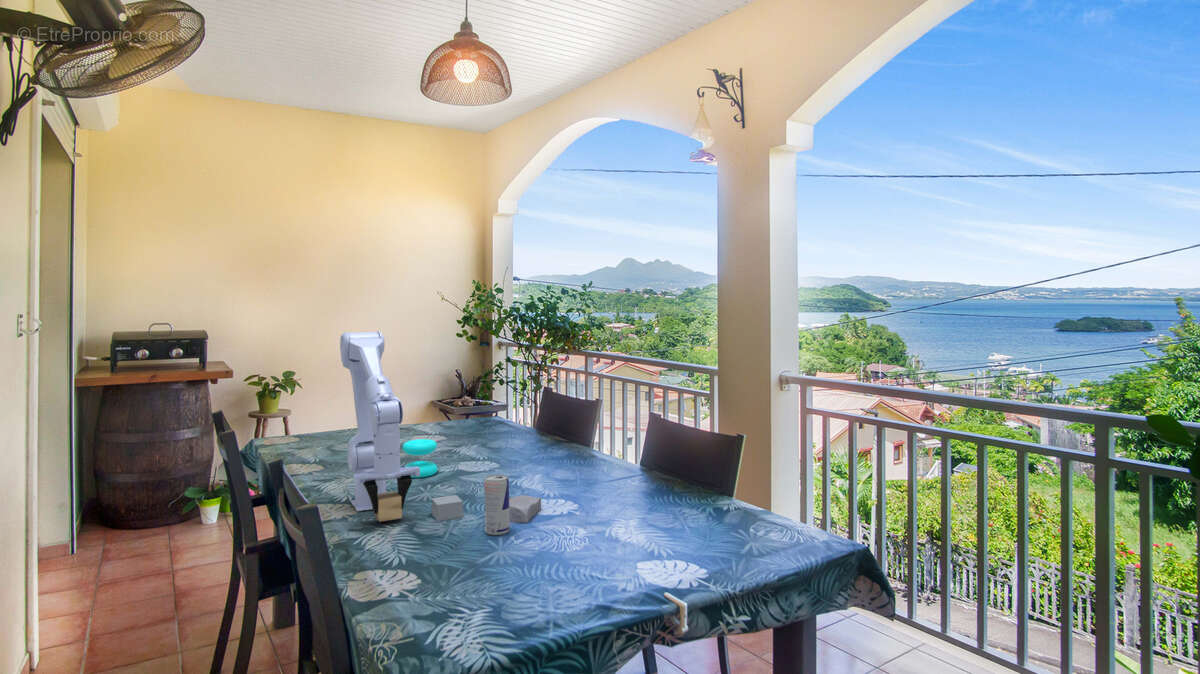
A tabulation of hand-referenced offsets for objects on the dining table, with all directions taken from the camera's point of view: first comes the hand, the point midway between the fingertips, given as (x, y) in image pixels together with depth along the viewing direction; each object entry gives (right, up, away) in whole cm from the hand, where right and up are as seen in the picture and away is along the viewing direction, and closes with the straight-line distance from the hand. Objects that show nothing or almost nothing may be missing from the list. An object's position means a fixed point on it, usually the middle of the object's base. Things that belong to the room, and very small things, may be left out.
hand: (388, 510), depth 148 cm
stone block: (+29, -3, +4) cm, 29 cm away
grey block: (+13, -3, +4) cm, 14 cm away
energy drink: (+27, -3, -8) cm, 28 cm away
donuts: (-5, -1, +44) cm, 44 cm away
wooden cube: (0, -2, 0) cm, 2 cm away
